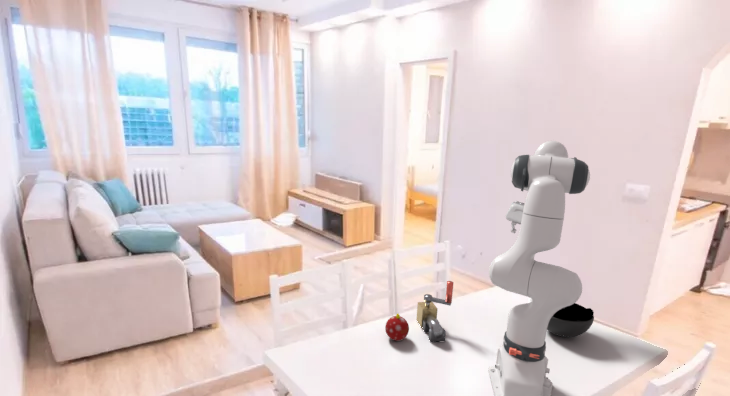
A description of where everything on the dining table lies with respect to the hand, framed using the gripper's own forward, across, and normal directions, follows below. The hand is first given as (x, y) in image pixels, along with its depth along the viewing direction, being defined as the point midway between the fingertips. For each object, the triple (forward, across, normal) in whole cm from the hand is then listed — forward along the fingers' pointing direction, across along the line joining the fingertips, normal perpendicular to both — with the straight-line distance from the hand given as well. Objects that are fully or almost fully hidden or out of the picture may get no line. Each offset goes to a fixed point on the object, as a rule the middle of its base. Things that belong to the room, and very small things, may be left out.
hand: (523, 236), depth 160 cm
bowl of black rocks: (+30, +25, +8) cm, 40 cm away
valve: (+50, -9, -25) cm, 56 cm away
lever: (+39, -11, -25) cm, 48 cm away
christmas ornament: (+57, -14, -37) cm, 69 cm away
